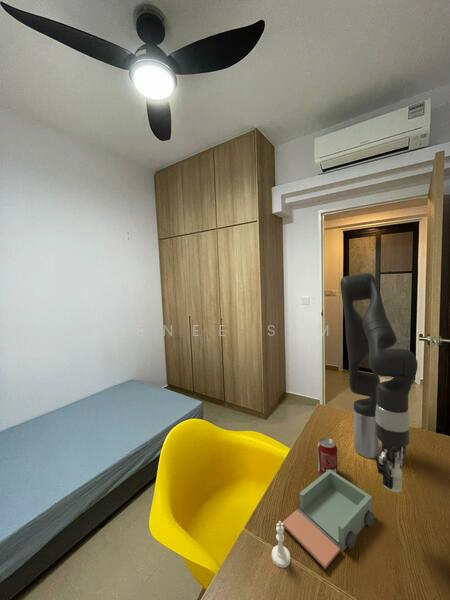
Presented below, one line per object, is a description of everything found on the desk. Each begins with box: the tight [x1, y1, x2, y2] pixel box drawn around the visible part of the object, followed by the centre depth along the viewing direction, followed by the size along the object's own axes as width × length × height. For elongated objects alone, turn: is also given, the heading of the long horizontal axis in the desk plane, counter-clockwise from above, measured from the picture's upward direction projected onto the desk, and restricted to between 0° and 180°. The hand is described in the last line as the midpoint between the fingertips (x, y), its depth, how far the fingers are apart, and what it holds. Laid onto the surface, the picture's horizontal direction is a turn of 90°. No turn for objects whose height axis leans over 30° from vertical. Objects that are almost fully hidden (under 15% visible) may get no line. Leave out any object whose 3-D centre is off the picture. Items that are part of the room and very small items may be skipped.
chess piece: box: [271, 520, 291, 568], centre depth 65 cm, size 5×5×10 cm
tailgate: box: [281, 508, 342, 570], centre depth 69 cm, size 1×14×7 cm
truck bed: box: [298, 469, 375, 552], centre depth 76 cm, size 16×16×6 cm
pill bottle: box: [382, 459, 403, 493], centre depth 67 cm, size 4×4×8 cm
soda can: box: [317, 437, 338, 476], centre depth 92 cm, size 7×7×12 cm
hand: (391, 481), depth 67 cm, fingers closed on pill bottle, 4 cm apart
